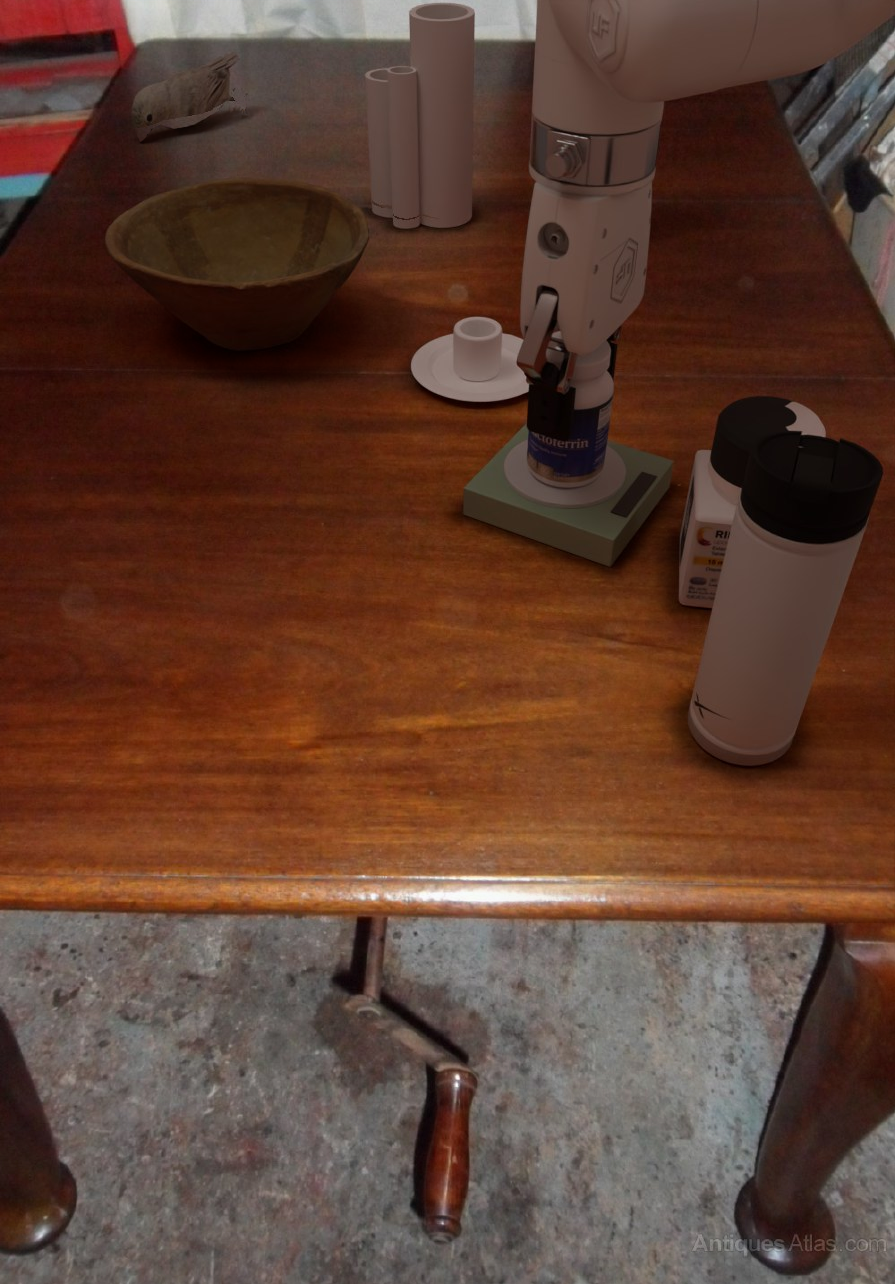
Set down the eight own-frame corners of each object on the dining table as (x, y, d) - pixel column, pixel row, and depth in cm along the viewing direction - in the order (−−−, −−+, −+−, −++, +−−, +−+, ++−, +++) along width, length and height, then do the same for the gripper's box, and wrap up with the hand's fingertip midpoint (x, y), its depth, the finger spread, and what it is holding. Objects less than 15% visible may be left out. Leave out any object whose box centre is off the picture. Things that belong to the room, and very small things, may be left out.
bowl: (240, 423, 88) (222, 311, 81) (83, 332, 99) (55, 226, 92) (422, 327, 100) (419, 222, 93) (263, 255, 111) (250, 156, 104)
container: (677, 607, 72) (710, 444, 63) (679, 536, 77) (709, 377, 68) (795, 619, 71) (845, 456, 62) (788, 547, 76) (833, 387, 67)
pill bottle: (515, 480, 77) (522, 357, 70) (539, 439, 81) (548, 318, 74) (591, 498, 76) (605, 374, 69) (612, 455, 80) (628, 333, 73)
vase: (473, 204, 120) (476, 3, 106) (469, 230, 115) (472, 23, 101) (374, 201, 121) (364, 0, 107) (365, 227, 116) (354, 21, 102)
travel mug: (676, 755, 63) (741, 476, 49) (697, 679, 67) (762, 403, 53) (784, 784, 61) (883, 504, 47) (798, 704, 65) (892, 426, 51)
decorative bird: (127, 137, 135) (114, 74, 130) (232, 108, 143) (224, 47, 138) (149, 149, 132) (137, 84, 127) (255, 119, 140) (248, 57, 135)
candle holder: (530, 333, 99) (532, 289, 96) (561, 401, 90) (565, 356, 87) (402, 344, 97) (400, 300, 94) (422, 415, 89) (421, 369, 86)
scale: (669, 487, 82) (675, 456, 80) (610, 567, 75) (614, 535, 73) (530, 442, 86) (532, 411, 84) (462, 514, 79) (463, 483, 77)
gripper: (589, 211, 56) (564, 490, 68) (706, 114, 66) (666, 371, 79) (465, 183, 59) (463, 457, 71) (597, 94, 69) (574, 346, 82)
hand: (570, 409), depth 75 cm, fingers open, 5 cm apart
